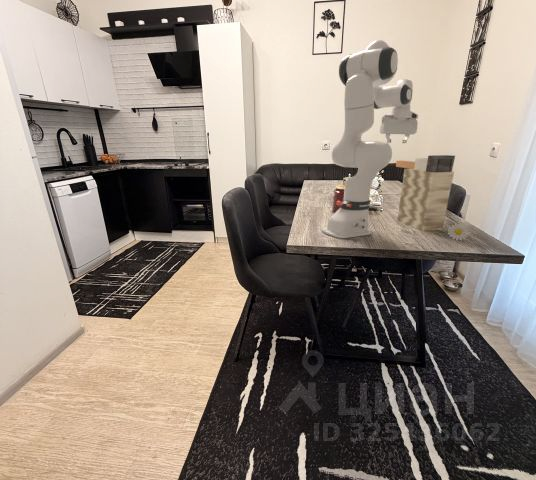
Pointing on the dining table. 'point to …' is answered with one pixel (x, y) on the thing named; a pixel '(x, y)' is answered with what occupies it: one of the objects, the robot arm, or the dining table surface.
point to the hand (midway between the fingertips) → (396, 143)
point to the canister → (338, 196)
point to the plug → (414, 164)
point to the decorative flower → (457, 231)
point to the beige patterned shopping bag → (426, 194)
